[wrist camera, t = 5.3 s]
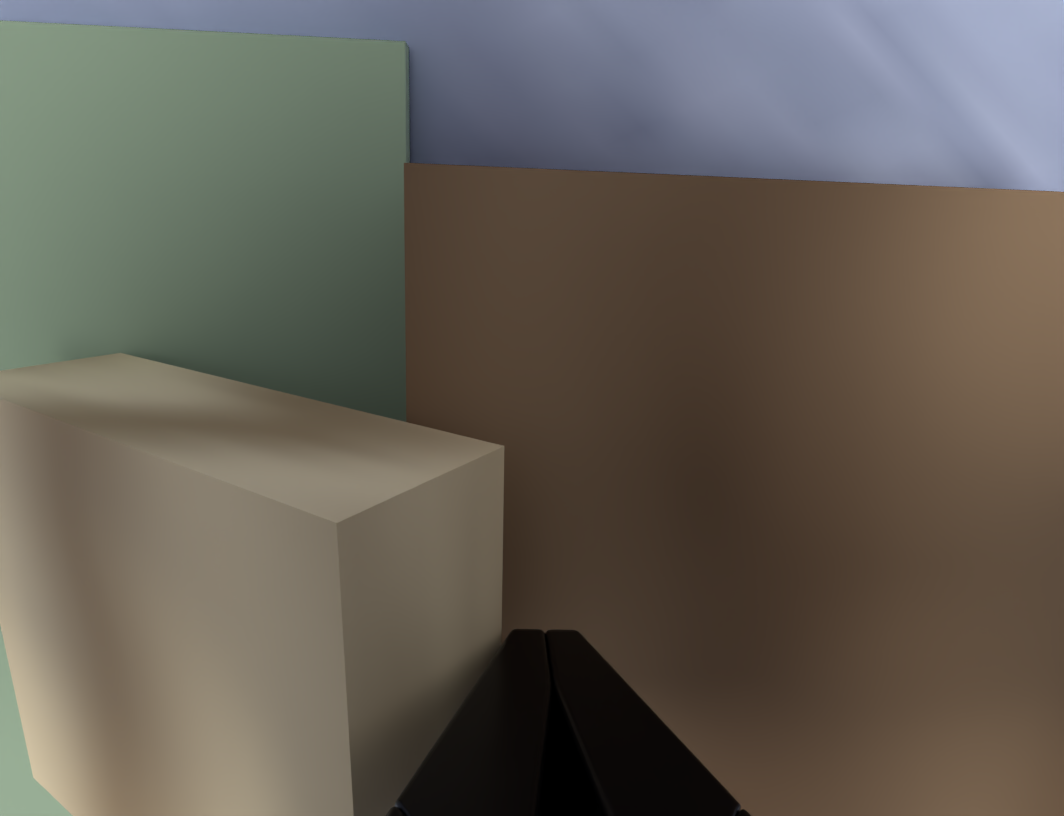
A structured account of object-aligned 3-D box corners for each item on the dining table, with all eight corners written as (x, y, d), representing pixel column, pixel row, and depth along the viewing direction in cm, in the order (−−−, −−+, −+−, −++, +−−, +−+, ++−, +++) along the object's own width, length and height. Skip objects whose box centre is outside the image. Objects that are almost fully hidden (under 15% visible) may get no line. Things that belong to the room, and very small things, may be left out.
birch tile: (504, 445, 8) (336, 523, 6) (497, 921, 9) (370, 1102, 8) (120, 353, 12) (-54, 378, 10) (170, 698, 14) (33, 777, 12)
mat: (408, 47, 11) (405, 41, 11) (414, 837, 15) (412, 854, 15) (-310, 10, 11) (-342, 3, 10) (-94, 834, 15) (-110, 850, 14)
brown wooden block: (1016, 205, 12) (1258, 200, 8) (890, 769, 15) (1019, 958, 11) (439, 180, 12) (403, 162, 8) (438, 764, 15) (411, 958, 11)
